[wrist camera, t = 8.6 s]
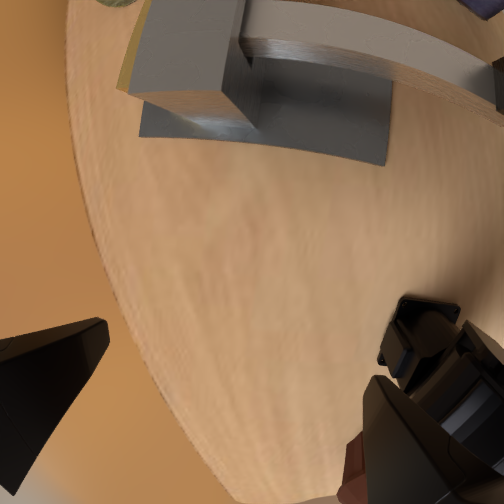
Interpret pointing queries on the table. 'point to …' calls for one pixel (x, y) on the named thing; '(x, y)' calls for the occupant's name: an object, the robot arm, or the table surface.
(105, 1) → the lime
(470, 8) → the flask
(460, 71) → the shaft
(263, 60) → the block
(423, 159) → the table surface
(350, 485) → the muffin
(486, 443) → the robot arm
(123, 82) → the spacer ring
